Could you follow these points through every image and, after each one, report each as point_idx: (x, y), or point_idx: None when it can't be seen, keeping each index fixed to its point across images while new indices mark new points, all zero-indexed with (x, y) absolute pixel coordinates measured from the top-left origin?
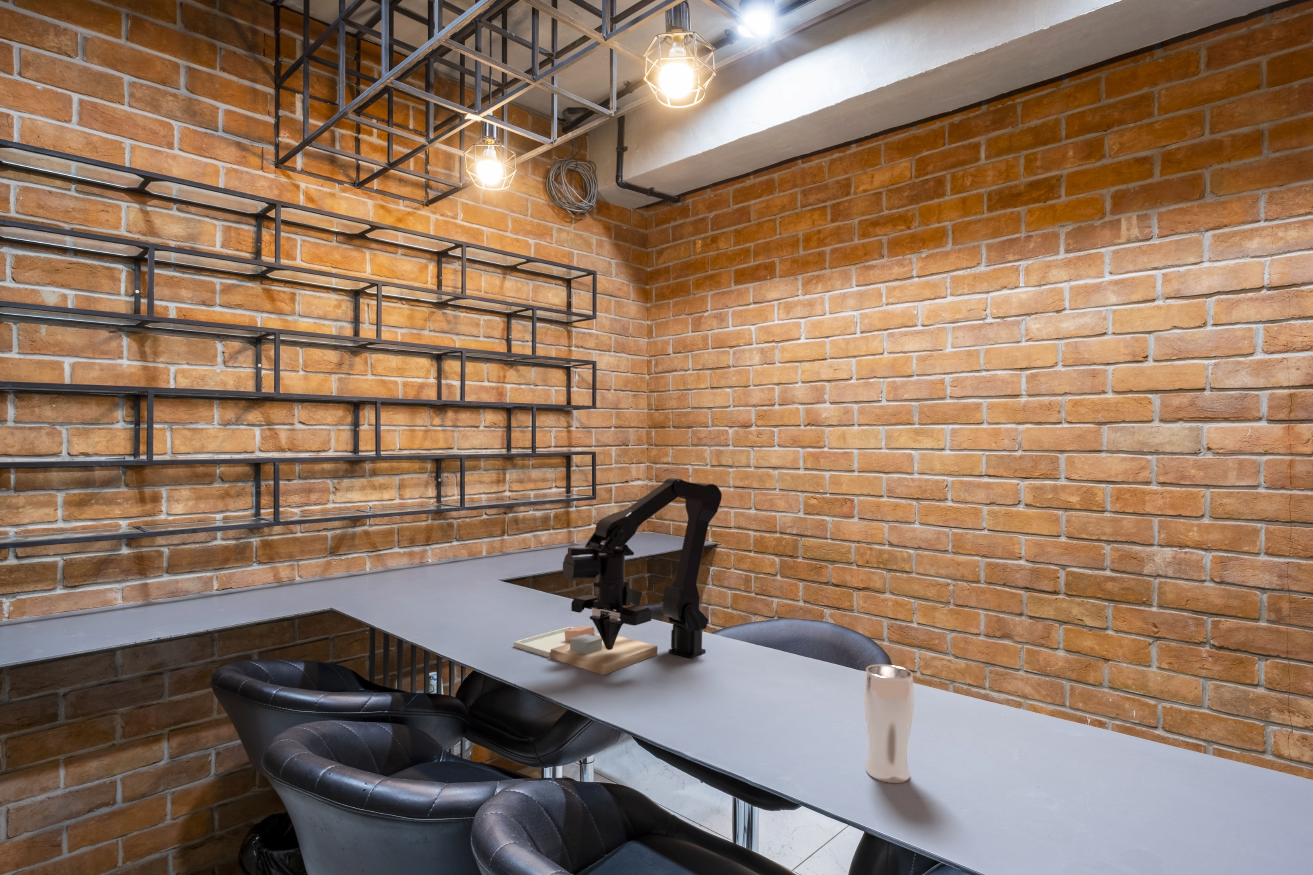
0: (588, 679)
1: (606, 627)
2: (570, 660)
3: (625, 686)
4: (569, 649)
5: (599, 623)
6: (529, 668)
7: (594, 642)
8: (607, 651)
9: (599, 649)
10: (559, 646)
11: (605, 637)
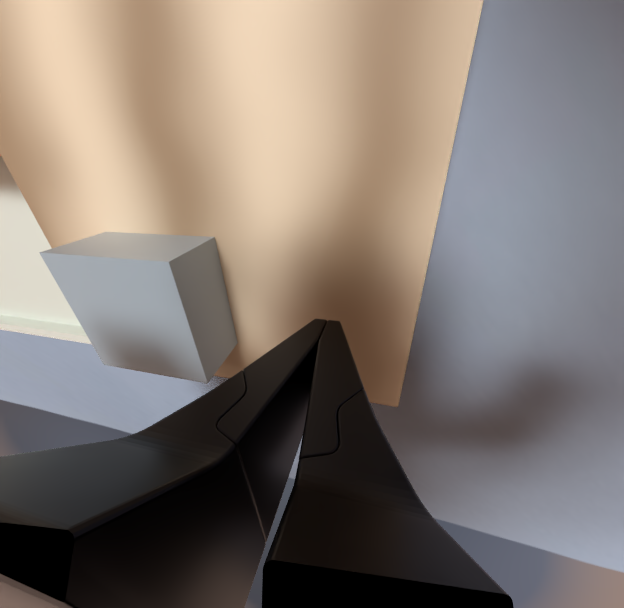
0: (380, 421)
1: (342, 596)
2: None
3: (555, 427)
4: None
5: (244, 603)
6: None
7: (198, 322)
8: (262, 243)
9: (216, 257)
10: (29, 237)
11: (304, 424)
